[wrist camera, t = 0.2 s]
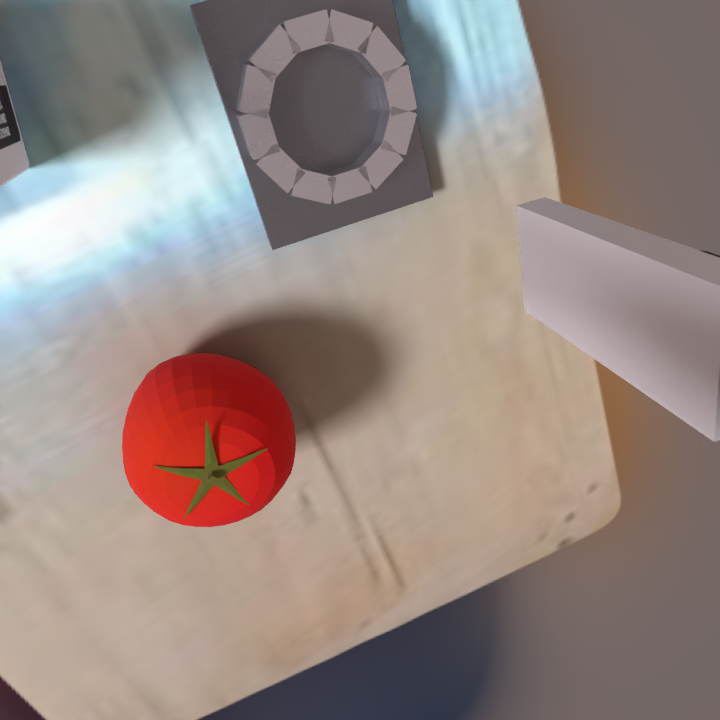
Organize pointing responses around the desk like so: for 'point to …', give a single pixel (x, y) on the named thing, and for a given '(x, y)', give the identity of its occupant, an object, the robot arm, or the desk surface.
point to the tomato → (207, 440)
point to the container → (10, 137)
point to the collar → (317, 109)
